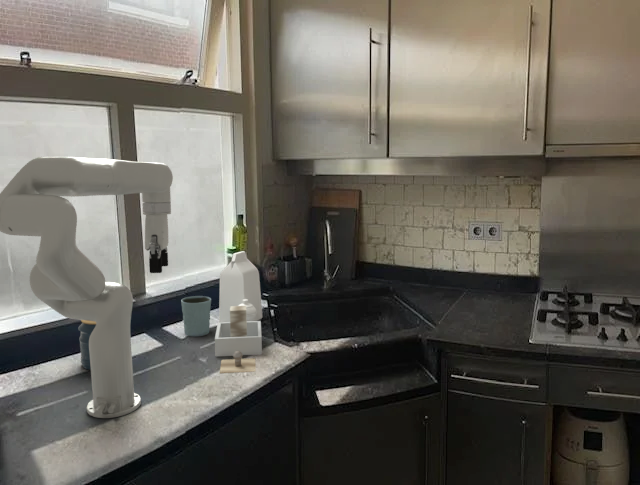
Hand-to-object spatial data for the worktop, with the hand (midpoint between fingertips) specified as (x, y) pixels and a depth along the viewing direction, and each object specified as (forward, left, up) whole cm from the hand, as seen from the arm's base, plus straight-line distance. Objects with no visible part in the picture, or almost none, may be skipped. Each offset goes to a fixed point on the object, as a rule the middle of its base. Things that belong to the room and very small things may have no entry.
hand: (159, 269), depth 151 cm
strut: (+13, -21, -29) cm, 38 cm away
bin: (+13, -21, -30) cm, 39 cm away
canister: (+8, +19, -30) cm, 36 cm away
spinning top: (+30, -23, -30) cm, 48 cm away
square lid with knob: (-3, -21, -30) cm, 37 cm away
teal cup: (+33, -6, -30) cm, 45 cm away
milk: (+45, -21, -30) cm, 58 cm away
